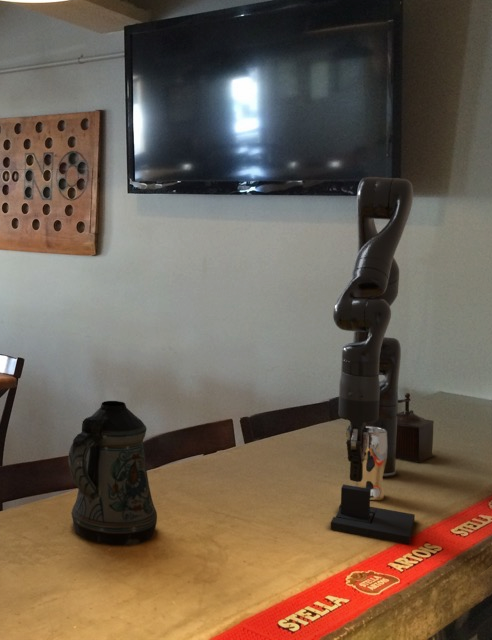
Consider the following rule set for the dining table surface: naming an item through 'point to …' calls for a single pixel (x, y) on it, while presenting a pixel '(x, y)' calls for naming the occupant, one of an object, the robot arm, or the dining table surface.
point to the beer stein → (112, 478)
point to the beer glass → (374, 462)
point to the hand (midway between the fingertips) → (356, 480)
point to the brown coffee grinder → (413, 435)
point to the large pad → (380, 525)
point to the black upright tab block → (355, 504)
